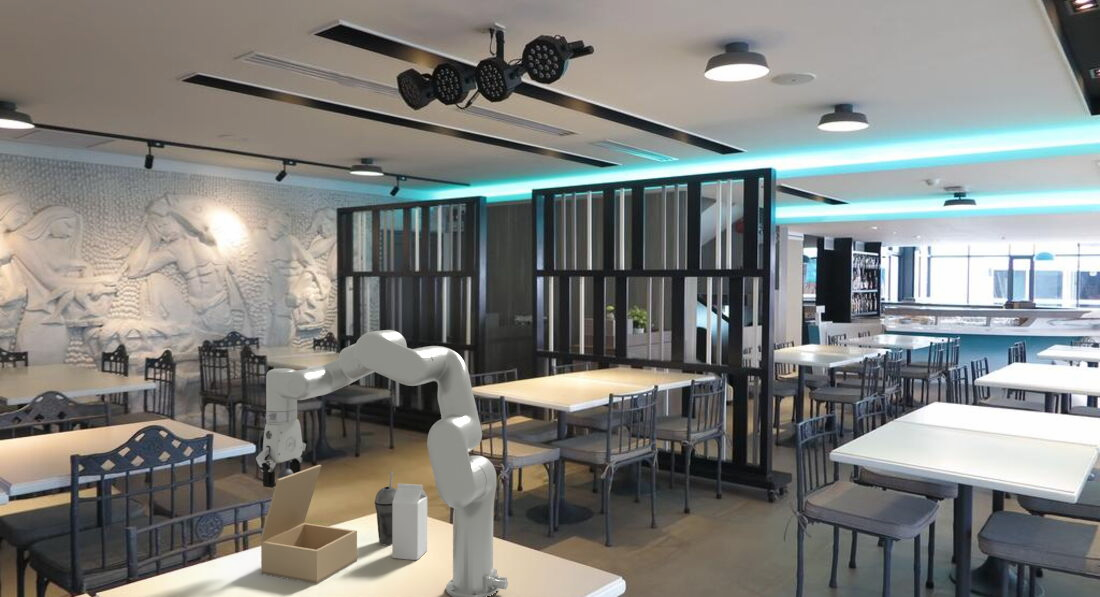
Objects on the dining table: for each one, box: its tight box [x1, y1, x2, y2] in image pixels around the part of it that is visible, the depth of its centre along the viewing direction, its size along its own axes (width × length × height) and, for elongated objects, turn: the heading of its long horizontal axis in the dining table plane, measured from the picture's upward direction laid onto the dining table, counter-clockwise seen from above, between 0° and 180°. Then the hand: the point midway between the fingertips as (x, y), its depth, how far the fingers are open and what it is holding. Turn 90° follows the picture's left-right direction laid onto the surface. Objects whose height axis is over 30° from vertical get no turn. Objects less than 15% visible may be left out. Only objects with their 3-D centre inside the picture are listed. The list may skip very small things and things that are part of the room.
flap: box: [259, 464, 322, 542], centre depth 190 cm, size 17×16×6 cm
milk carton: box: [391, 483, 428, 561], centre depth 197 cm, size 7×7×19 cm
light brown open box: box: [260, 522, 358, 585], centre depth 188 cm, size 17×16×8 cm
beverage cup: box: [374, 471, 397, 546], centre depth 206 cm, size 7×7×20 cm
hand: (282, 482), depth 190 cm, fingers open, 9 cm apart
